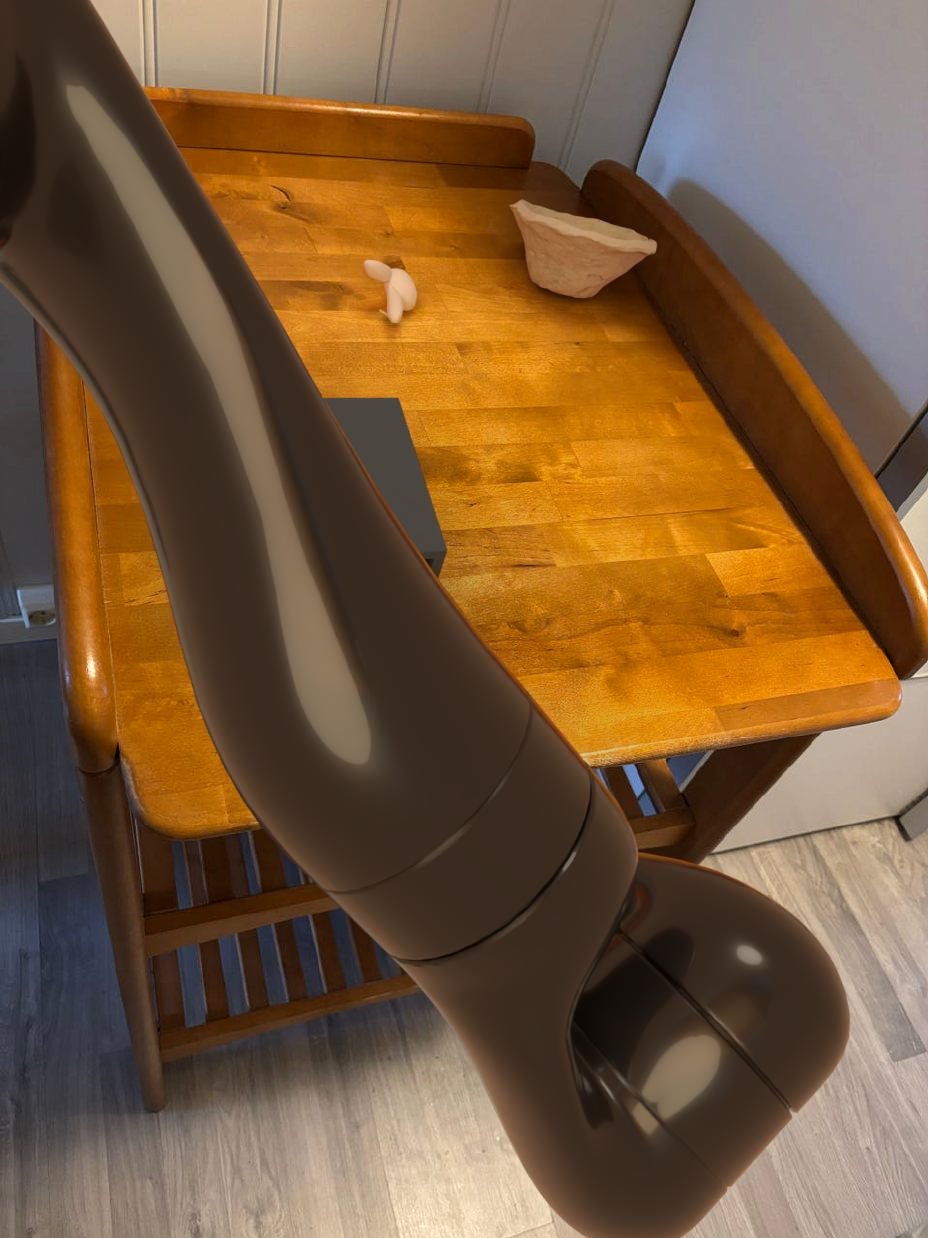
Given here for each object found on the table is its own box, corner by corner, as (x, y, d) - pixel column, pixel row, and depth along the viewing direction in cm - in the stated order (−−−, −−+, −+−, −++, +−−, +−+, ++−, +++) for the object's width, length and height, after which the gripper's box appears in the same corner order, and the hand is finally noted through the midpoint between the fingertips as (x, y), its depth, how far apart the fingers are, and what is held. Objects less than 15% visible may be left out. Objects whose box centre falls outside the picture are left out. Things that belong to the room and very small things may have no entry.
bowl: (633, 268, 108) (668, 182, 100) (627, 344, 99) (665, 256, 91) (501, 229, 106) (526, 139, 99) (483, 302, 98) (509, 210, 90)
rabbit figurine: (437, 311, 95) (409, 313, 88) (404, 331, 97) (374, 335, 90) (408, 253, 94) (377, 251, 87) (375, 274, 96) (342, 274, 89)
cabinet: (420, 636, 71) (447, 550, 64) (243, 651, 67) (250, 561, 60) (378, 488, 79) (398, 396, 72) (217, 494, 75) (221, 397, 68)
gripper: (616, 744, 46) (486, 672, 61) (307, 785, 41) (252, 696, 57) (615, 896, 47) (488, 787, 63) (316, 953, 42) (259, 820, 58)
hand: (376, 744), depth 60 cm, fingers closed on drawer, 6 cm apart
